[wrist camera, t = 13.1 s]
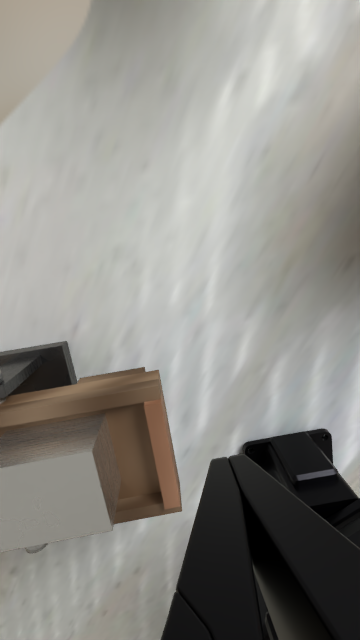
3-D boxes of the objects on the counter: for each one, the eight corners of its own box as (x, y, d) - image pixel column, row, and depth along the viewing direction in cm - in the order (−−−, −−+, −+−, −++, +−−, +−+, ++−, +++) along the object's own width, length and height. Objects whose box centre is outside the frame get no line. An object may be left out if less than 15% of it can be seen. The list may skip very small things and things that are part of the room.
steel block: (104, 413, 15) (91, 451, 12) (121, 480, 16) (112, 530, 13) (5, 431, 15) (-32, 474, 12) (27, 497, 16) (-3, 552, 13)
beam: (157, 349, 18) (156, 381, 14) (178, 461, 20) (183, 524, 15) (-124, 397, 18) (-227, 448, 13) (-78, 507, 19) (-153, 588, 15)
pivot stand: (66, 338, 20) (28, 370, 14) (99, 471, 22) (78, 544, 16) (-10, 350, 20) (-78, 388, 14) (32, 483, 22) (-12, 561, 16)
